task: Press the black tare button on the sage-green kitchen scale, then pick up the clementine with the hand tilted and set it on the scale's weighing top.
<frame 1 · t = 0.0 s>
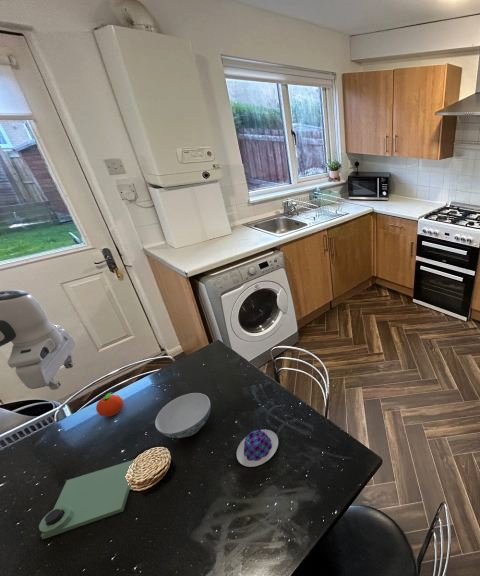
hand: (64, 376, 95), 19 cm above the table, tool pointing down, fingers open, 8 cm apart
scale: (95, 496, 83), on the table
chinaware: (191, 427, 101), on the table
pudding: (258, 449, 94), on the table
tare button: (54, 516, 75), point 3 cm above the table, slide at 0.1 cm
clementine: (115, 411, 106), on the table
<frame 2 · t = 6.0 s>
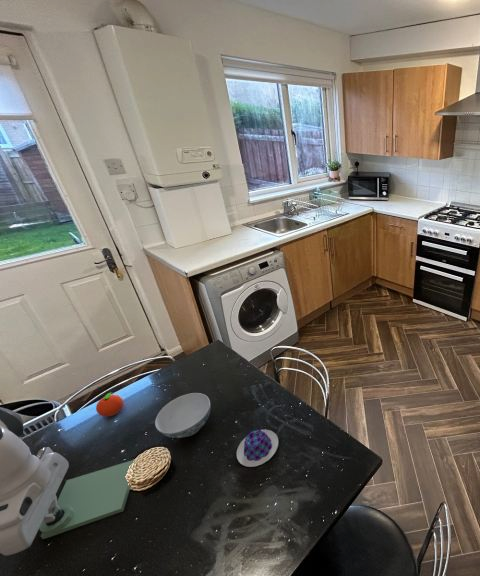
hand: (53, 515, 75), 4 cm above the table, tool pointing down, fingers closed, pressing on tare button
tare button: (54, 517, 76), point 3 cm above the table, slide at -0.1 cm, touching gripper
everything else where it was.
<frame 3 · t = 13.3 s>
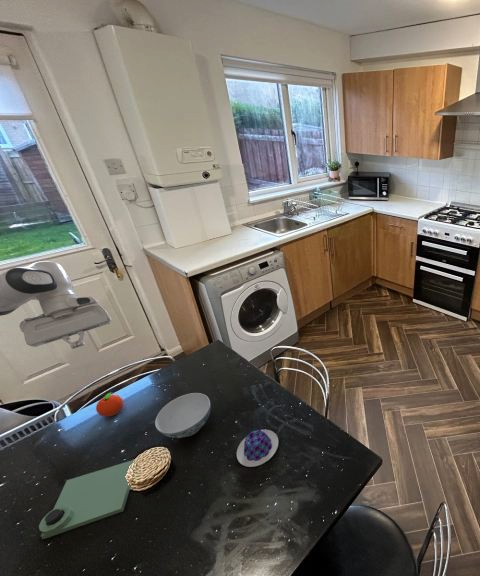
hand: (78, 346, 100), 23 cm above the table, tool tilted 40°, fingers closed
tare button: (54, 516, 75), point 3 cm above the table, slide at 0.1 cm
everything else where it was.
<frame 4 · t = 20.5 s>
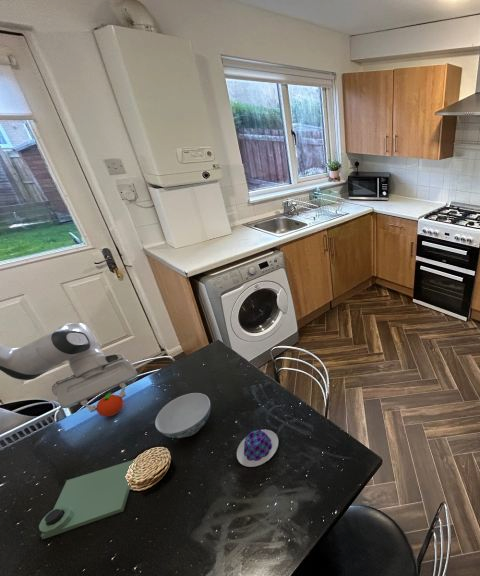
hand: (109, 403, 104), 4 cm above the table, tool tilted 45°, fingers closed on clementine, 6 cm apart
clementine: (115, 411, 106), on the table, touching gripper
everything else where it was.
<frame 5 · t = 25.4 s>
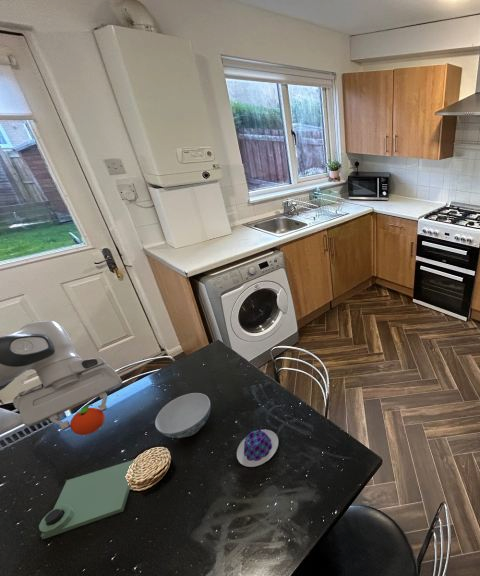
hand: (86, 419, 85), 16 cm above the table, tool tilted 45°, fingers closed on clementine, 6 cm apart
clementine: (94, 428, 88), point 12 cm above the table, touching gripper
everything else where it was.
when the fingers open (6 cm above the table, at t = 30.6 s): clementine stays where it is, resting on scale.
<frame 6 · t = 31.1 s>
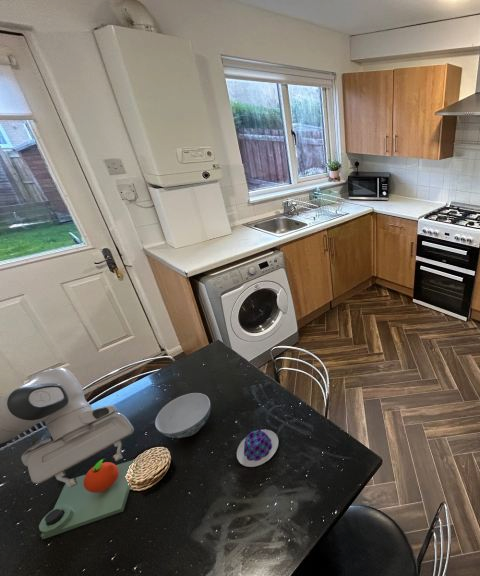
hand: (97, 472, 81), 7 cm above the table, tool tilted 45°, fingers open, 8 cm apart
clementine: (108, 482, 85), point 1 cm above the table, touching scale
everything else where it was.
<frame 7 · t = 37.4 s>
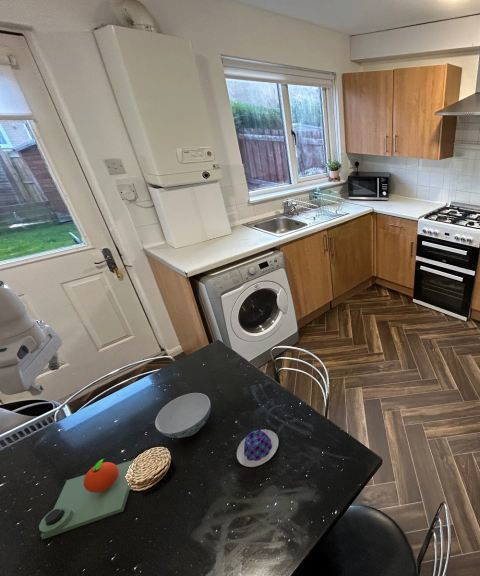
hand: (48, 380, 83), 27 cm above the table, tool pointing down, fingers open, 8 cm apart
nothing on the table moved.
at the end: tare button pushed in 0.9 cm at the most during the clip, back to where it started at the end; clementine inside the target area on the scale (3.4 cm from its centre), point 1.2 cm above the scale's base; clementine touching scale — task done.
